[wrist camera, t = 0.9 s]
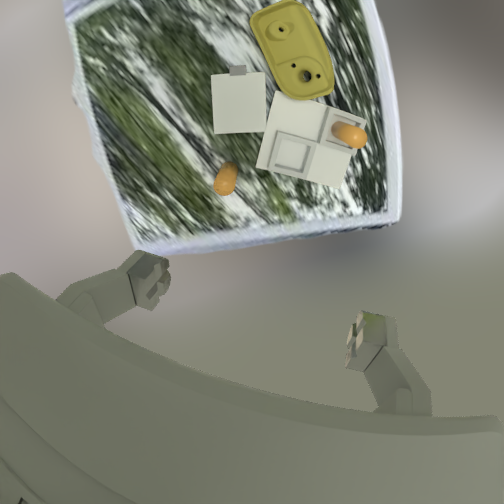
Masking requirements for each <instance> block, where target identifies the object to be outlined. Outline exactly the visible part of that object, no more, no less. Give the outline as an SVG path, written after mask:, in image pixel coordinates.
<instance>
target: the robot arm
mask: <svg viewBox="0 0 504 504" xmlns="http://www.w3.org/2000/svg"><path fill="white" fill-rule="evenodd" d="M168 267H169V260H168V259H166V258H163V257H160V256H157V255H154V254H151V253H147V252H145V251H142V250H136V251H135V252H134V253H133V254H132V255H131V256H130V257H129V258H128V259H127V260H126V261H125V262H124V263H123V264H122V265H121V266H120V267H119V268H118V269H117V270H116V269H112V270H109V271H106V272H103V273H101V274H98V275H95V276H92V277H89V278H86V279H84V280H81V281H78V282H75V283H73V284H71V285H70V286H69V287H68V288H67V289H66V290H65V291H64V292H63V293H62V294H61V295H60V296H59V297H58V298H57V299H56V300H54V299H52V298H50V297H49V296H48V295H46V294H44V293H43V292H41V291H40V290H38V289H37V288H35V287H34V286H32V285H31V284H30V283H28V282H27V281H25V280H24V279H22V278H21V277H20V276H18V275H17V274H15V273H12V272H11V273H6V274H2V275H0V504H504V426H503V424H502V422H501V421H500V420H499V419H498V417H497V416H494V415H486V416H485V415H484V416H466V417H432V405H431V391H430V389H429V388H428V386H427V385H426V383H425V382H424V380H423V379H422V377H421V376H420V375H419V373H418V372H417V370H416V369H415V367H414V366H413V364H412V363H411V362H410V360H409V359H408V357H407V356H406V354H405V353H404V352H403V350H402V349H399V344H398V335H397V327H396V319H395V318H394V317H390V316H385V315H379V314H374V313H370V312H365V311H360V312H359V313H358V315H357V321H356V323H354V324H353V325H352V327H351V329H350V331H349V334H348V339H347V347H348V349H349V351H348V352H347V354H346V362H345V368H348V369H352V370H357V371H362V372H364V375H365V377H366V379H367V381H368V384H369V386H370V388H371V390H372V393H373V395H374V397H375V399H376V401H377V404H378V406H379V407H378V408H377V409H376V410H374V411H373V412H367V411H360V410H353V409H346V408H340V407H334V406H328V405H324V404H318V403H313V402H309V401H304V400H299V399H295V398H291V397H287V396H282V395H278V394H274V393H271V392H267V391H263V390H260V389H256V388H253V387H249V386H246V385H242V384H239V383H236V382H232V381H230V380H226V379H223V378H220V377H217V376H214V375H212V374H209V373H206V372H203V371H200V370H197V369H195V368H192V367H189V366H187V365H184V364H182V363H179V362H177V361H174V360H172V359H169V358H167V357H164V356H162V355H160V354H157V353H155V352H153V351H150V350H148V349H146V348H144V347H141V346H139V345H137V344H135V343H133V342H131V341H129V340H126V339H124V338H122V337H120V336H118V335H116V334H114V333H112V332H110V331H108V330H106V328H105V326H104V323H106V322H108V321H110V320H112V319H113V318H115V317H117V316H119V315H121V314H123V313H125V312H126V311H128V310H130V309H132V308H134V307H135V306H136V305H137V306H139V307H142V308H145V309H148V310H150V311H152V310H153V309H154V308H155V306H156V305H157V304H158V302H159V296H162V295H164V294H165V293H166V292H167V290H168V288H169V286H170V281H171V276H170V273H169V272H168V270H167V269H168Z"/></svg>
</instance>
